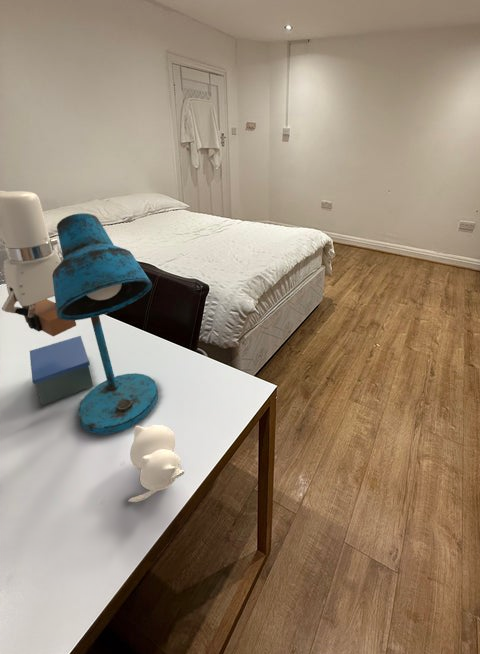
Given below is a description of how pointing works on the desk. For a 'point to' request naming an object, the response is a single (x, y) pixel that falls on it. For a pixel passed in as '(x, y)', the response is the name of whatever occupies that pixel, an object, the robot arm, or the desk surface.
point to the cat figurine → (155, 458)
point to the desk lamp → (97, 299)
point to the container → (60, 369)
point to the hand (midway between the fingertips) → (50, 322)
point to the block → (51, 318)
